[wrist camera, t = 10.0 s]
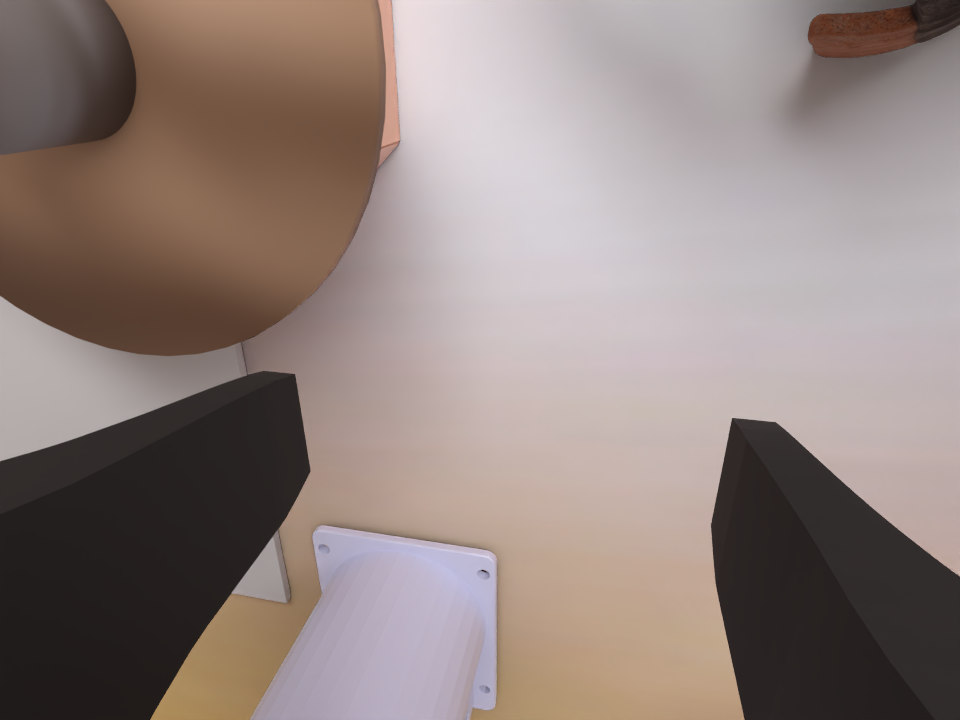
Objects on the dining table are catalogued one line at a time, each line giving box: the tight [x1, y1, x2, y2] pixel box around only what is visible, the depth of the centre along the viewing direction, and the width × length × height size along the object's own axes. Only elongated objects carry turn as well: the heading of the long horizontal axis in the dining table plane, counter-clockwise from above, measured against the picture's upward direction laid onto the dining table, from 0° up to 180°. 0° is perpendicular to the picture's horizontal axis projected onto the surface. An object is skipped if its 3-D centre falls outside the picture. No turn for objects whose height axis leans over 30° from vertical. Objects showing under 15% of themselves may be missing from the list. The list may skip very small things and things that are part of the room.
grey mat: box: [0, 296, 291, 603], centre depth 27 cm, size 16×16×1 cm
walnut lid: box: [0, 0, 386, 356], centre depth 13 cm, size 15×15×3 cm
